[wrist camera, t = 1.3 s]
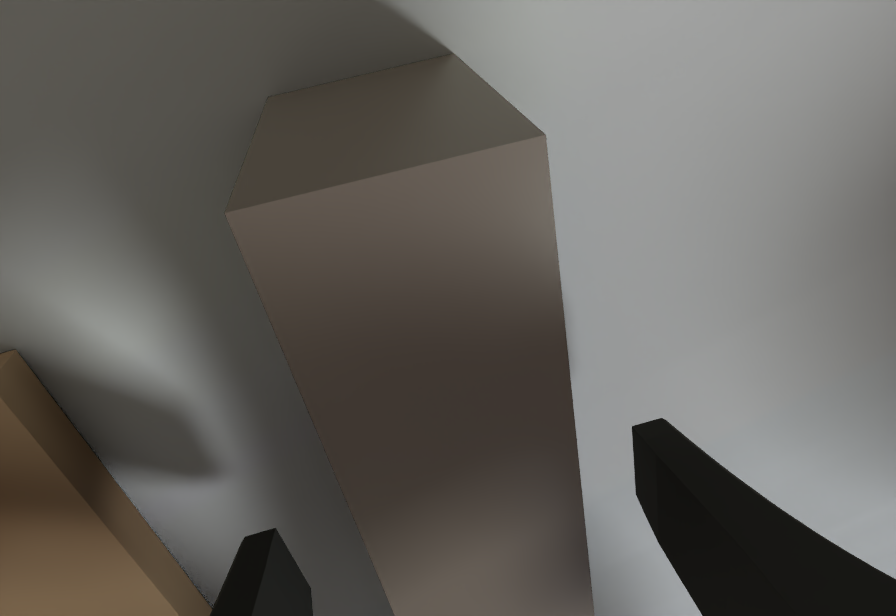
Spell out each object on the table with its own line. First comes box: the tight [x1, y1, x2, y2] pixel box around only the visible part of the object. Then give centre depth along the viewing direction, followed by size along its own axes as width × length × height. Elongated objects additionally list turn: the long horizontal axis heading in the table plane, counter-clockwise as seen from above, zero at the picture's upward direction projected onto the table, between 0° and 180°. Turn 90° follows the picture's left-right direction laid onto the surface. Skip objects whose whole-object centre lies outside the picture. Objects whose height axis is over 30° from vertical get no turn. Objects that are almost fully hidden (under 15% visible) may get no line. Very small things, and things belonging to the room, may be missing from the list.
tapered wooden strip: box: [224, 53, 594, 616], centre depth 12 cm, size 16×3×5 cm, turn 11°
